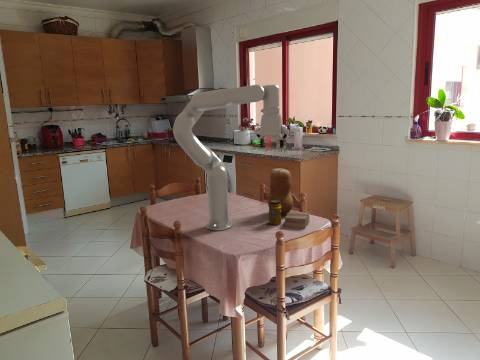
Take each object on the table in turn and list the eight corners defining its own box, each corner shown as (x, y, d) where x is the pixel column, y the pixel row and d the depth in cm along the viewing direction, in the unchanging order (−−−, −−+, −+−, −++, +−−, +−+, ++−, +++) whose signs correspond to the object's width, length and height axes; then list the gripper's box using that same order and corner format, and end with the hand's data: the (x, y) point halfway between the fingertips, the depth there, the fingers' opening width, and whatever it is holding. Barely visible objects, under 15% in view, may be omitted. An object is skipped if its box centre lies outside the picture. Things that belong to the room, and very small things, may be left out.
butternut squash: (296, 211, 209) (296, 167, 203) (288, 219, 197) (288, 171, 191) (273, 209, 215) (272, 165, 209) (263, 215, 203) (263, 170, 198)
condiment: (284, 223, 190) (284, 200, 188) (273, 228, 184) (273, 204, 182) (273, 220, 195) (273, 198, 193) (262, 224, 190) (262, 201, 187)
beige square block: (305, 229, 182) (305, 219, 181) (285, 227, 186) (285, 217, 185) (309, 222, 191) (309, 213, 190) (289, 220, 195) (289, 211, 194)
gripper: (251, 112, 179) (252, 148, 183) (286, 111, 172) (287, 149, 176) (257, 111, 186) (258, 146, 189) (291, 111, 178) (291, 147, 182)
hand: (272, 147), depth 182 cm, fingers open, 9 cm apart
